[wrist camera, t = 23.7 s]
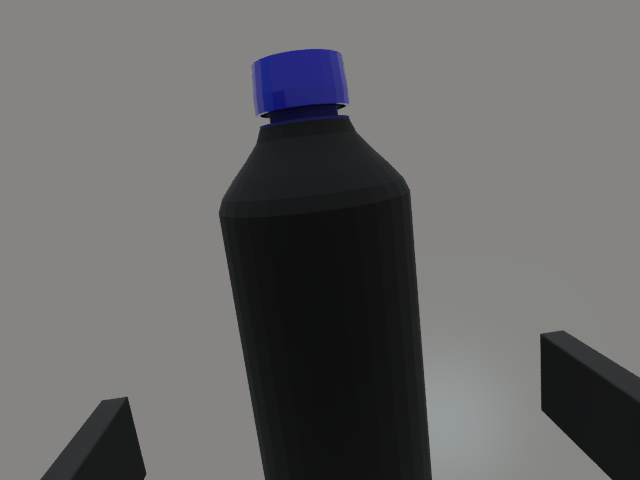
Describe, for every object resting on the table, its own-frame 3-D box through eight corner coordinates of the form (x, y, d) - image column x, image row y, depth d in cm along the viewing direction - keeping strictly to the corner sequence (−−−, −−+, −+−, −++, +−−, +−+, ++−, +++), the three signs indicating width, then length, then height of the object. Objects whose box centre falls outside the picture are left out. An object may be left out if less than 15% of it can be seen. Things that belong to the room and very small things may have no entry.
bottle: (276, 676, 19) (157, 49, 14) (292, 515, 28) (223, 90, 22) (462, 664, 19) (420, 13, 13) (420, 504, 27) (383, 69, 22)
